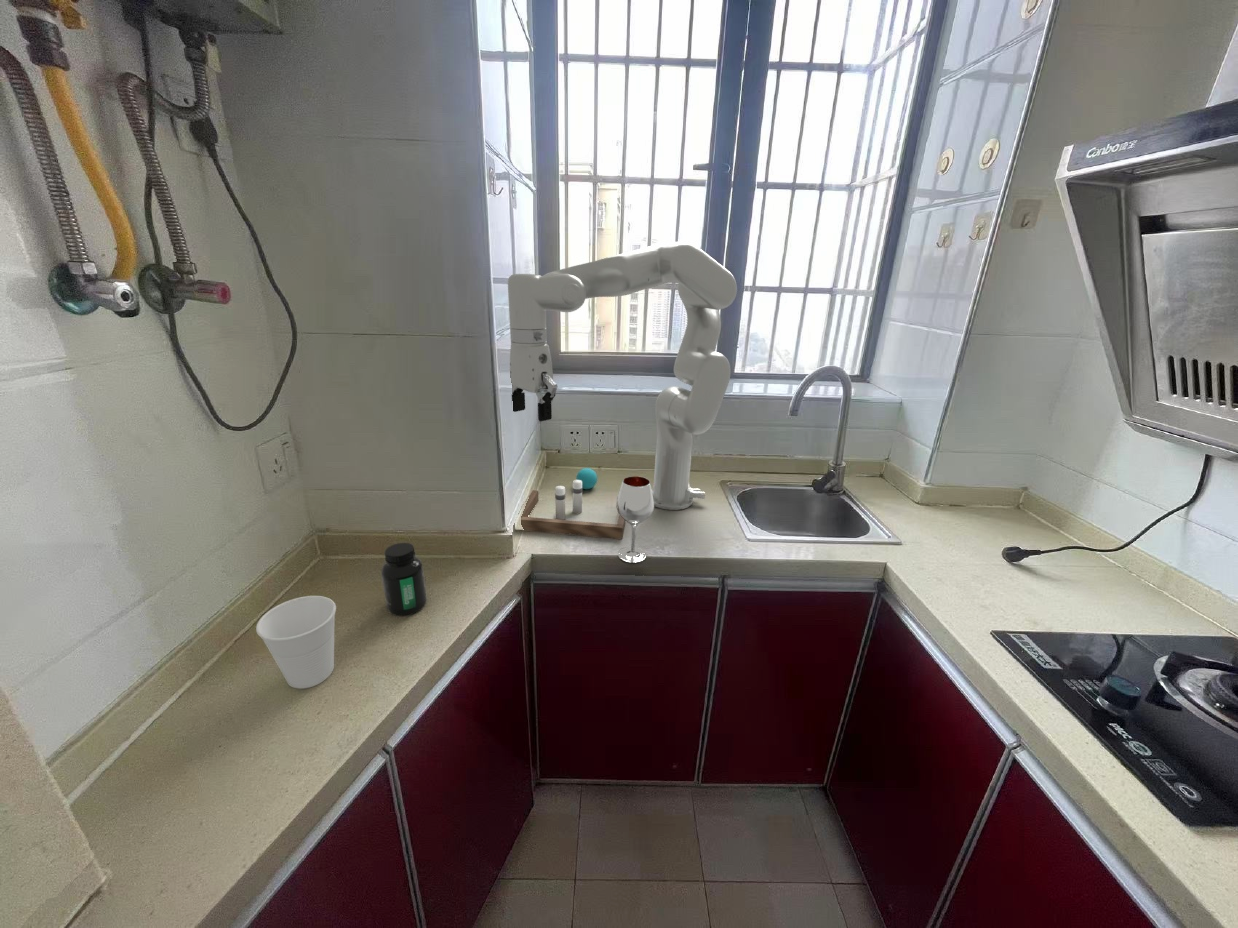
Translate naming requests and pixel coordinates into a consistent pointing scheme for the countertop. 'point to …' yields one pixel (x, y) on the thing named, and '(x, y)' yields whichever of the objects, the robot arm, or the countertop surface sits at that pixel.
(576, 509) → the pin
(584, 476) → the ball
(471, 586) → the countertop surface
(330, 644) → the cup
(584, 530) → the wooden u-shaped frame
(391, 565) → the supplement bottle
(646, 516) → the wineglass
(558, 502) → the pin
